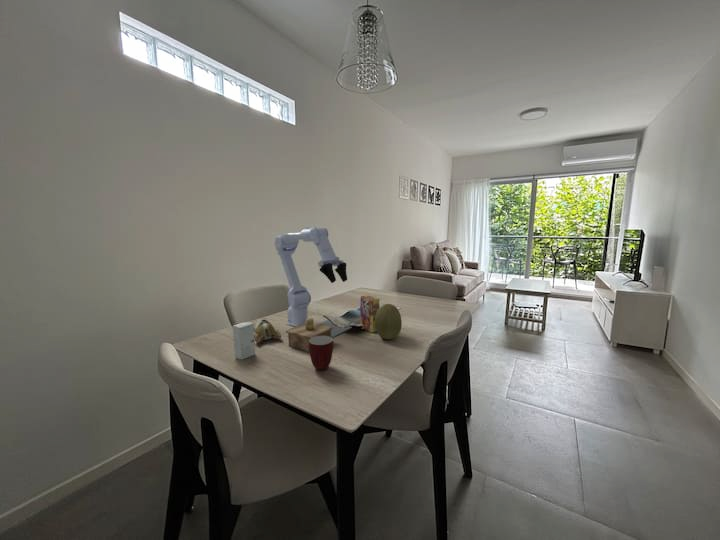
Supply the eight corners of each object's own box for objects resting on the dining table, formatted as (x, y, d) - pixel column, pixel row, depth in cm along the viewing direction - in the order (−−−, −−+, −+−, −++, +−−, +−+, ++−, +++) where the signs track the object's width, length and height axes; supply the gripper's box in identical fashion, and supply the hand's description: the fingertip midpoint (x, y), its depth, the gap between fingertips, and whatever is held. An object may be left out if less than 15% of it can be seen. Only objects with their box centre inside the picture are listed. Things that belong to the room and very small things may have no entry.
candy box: (379, 330, 132) (380, 298, 130) (372, 333, 129) (372, 299, 127) (367, 325, 139) (367, 294, 136) (360, 327, 136) (359, 296, 134)
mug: (337, 376, 93) (336, 346, 91) (311, 379, 91) (310, 349, 89) (331, 361, 103) (330, 334, 101) (308, 364, 101) (307, 336, 99)
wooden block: (286, 332, 115) (285, 321, 114) (308, 323, 126) (308, 312, 125) (311, 339, 108) (310, 327, 107) (332, 329, 119) (332, 317, 118)
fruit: (380, 345, 116) (381, 309, 114) (370, 335, 127) (370, 302, 125) (406, 341, 120) (406, 306, 118) (394, 332, 131) (394, 299, 128)
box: (288, 345, 116) (288, 332, 115) (309, 336, 126) (308, 323, 125) (311, 352, 110) (310, 338, 109) (331, 341, 120) (330, 329, 119)
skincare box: (241, 360, 104) (238, 328, 102) (234, 357, 106) (231, 325, 104) (256, 354, 109) (254, 323, 107) (249, 351, 111) (247, 320, 109)
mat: (305, 330, 133) (305, 329, 133) (327, 320, 146) (327, 319, 146) (333, 337, 124) (333, 336, 124) (354, 326, 137) (354, 325, 137)
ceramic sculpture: (272, 312, 131) (282, 323, 119) (273, 330, 133) (283, 343, 121) (247, 316, 125) (255, 328, 113) (248, 335, 127) (256, 349, 115)
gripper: (321, 246, 113) (335, 277, 110) (344, 248, 125) (356, 275, 122) (310, 255, 117) (322, 285, 113) (333, 256, 129) (345, 283, 125)
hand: (339, 281), depth 118 cm, fingers open, 7 cm apart
